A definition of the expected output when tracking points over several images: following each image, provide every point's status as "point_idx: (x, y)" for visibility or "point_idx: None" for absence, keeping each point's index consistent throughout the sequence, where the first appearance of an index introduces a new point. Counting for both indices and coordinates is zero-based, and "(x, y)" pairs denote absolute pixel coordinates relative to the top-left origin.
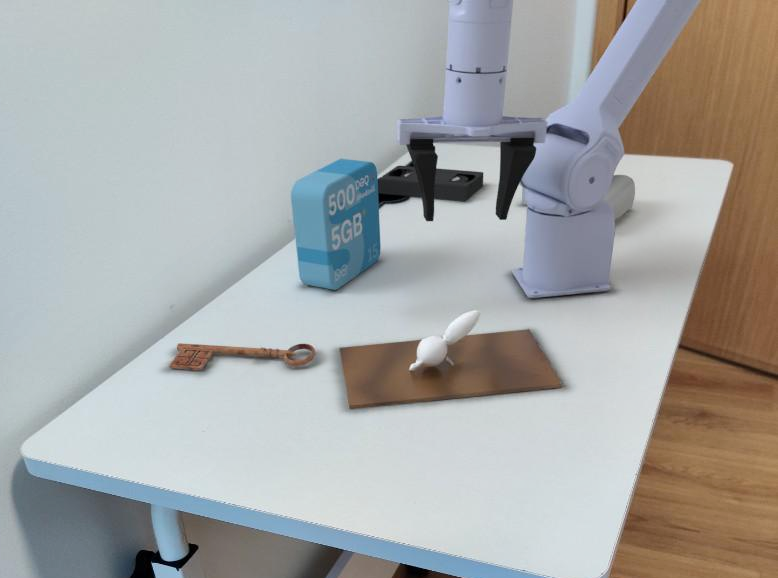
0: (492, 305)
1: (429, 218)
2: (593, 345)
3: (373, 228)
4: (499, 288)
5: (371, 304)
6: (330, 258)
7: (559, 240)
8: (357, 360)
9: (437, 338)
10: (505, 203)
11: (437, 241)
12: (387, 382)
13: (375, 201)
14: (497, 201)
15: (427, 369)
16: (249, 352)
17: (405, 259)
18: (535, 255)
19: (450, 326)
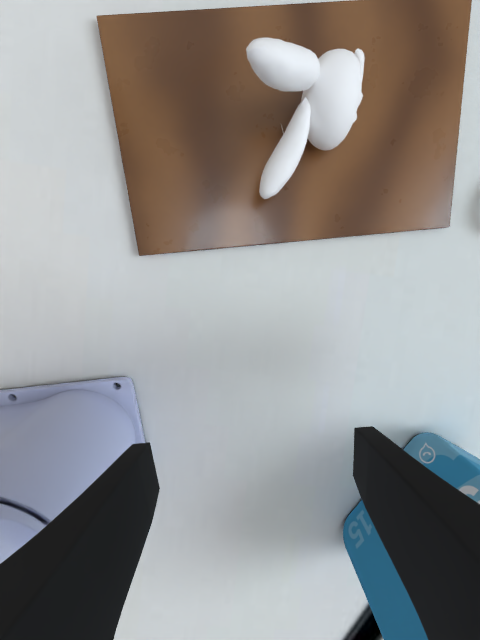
0: (191, 363)
1: (371, 430)
2: (33, 192)
3: (375, 572)
4: (174, 420)
5: (372, 385)
6: (465, 466)
7: (26, 447)
8: (430, 173)
9: (332, 70)
10: (116, 474)
11: (250, 577)
12: (396, 77)
13: (394, 638)
14: (145, 522)
15: None
16: None
17: (303, 525)
18: (96, 441)
19: (313, 56)
